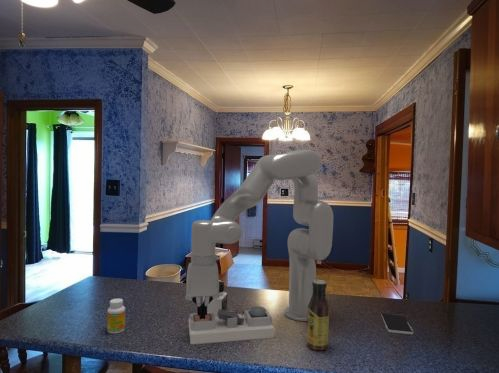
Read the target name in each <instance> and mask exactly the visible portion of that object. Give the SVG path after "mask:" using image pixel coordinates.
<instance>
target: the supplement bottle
mask: <svg viewBox="0 0 499 373" xmlns="http://www.w3.org/2000/svg"><path fill="white" fill-rule="evenodd" d="M106 315H107V320H106V321H107V322H106V326H107V327H106V331H107V333H109V334H113V335H114V334H119V333H122V332H124V331H125V329H126V307H125V306H124V299H123V298H112V299H111V300H110V301H109V307H108V308H107V313H106Z"/></svg>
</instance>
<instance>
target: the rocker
mask: <svg viewBox="0 0 499 373" xmlns="http://www.w3.org/2000/svg"><path fill="white" fill-rule="evenodd" d="M229 311H230V310H227V311H225V310H220V309H219V310H218V313H217V314H218V318H219V319H222V320H227V318H234V317H237V323H240V324H243V322H244V318H243V316H242V315H243V314H241V313H238V312H237V313H236V312H234V313H233V312H229Z"/></svg>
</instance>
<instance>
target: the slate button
mask: <svg viewBox="0 0 499 373" xmlns="http://www.w3.org/2000/svg"><path fill="white" fill-rule="evenodd" d="M249 310H250V316H251V318H255V317H265V312H266V308H265V307H263V306H259V305H257V306H252V307H250V309H249Z"/></svg>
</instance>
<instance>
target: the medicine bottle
mask: <svg viewBox="0 0 499 373" xmlns="http://www.w3.org/2000/svg"><path fill="white" fill-rule="evenodd" d="M219 296H220V297H219V298H218V299H214V300H212V301H211V302H210V303H209V304H208V306H207V313H208V312H210V313H214V317H218V314H217V313H218V310H219V309H220V310H225V311H228V292H225V282H224V281H222V280H220V279H219ZM204 298H205V297H202V303H203V302H204Z"/></svg>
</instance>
